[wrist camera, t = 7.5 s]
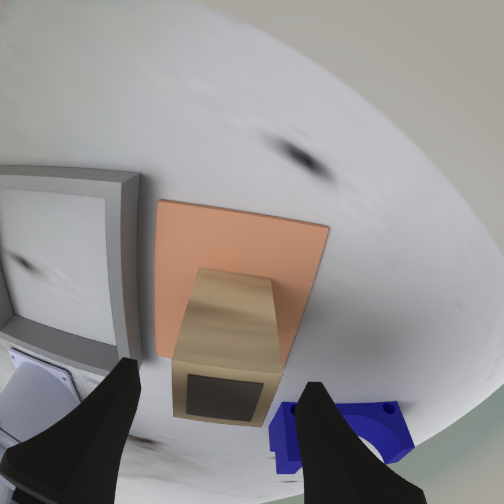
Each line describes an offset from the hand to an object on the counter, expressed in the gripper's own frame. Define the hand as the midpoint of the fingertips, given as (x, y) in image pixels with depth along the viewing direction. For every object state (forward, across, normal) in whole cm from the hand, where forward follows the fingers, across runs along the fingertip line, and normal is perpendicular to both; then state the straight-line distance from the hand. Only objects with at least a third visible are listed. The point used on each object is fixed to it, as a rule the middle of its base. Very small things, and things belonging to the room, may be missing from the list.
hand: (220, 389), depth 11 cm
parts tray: (+7, +12, 0) cm, 14 cm away
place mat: (+7, 0, 0) cm, 7 cm away
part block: (+6, 0, 0) cm, 6 cm away
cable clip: (+7, -12, +12) cm, 18 cm away
